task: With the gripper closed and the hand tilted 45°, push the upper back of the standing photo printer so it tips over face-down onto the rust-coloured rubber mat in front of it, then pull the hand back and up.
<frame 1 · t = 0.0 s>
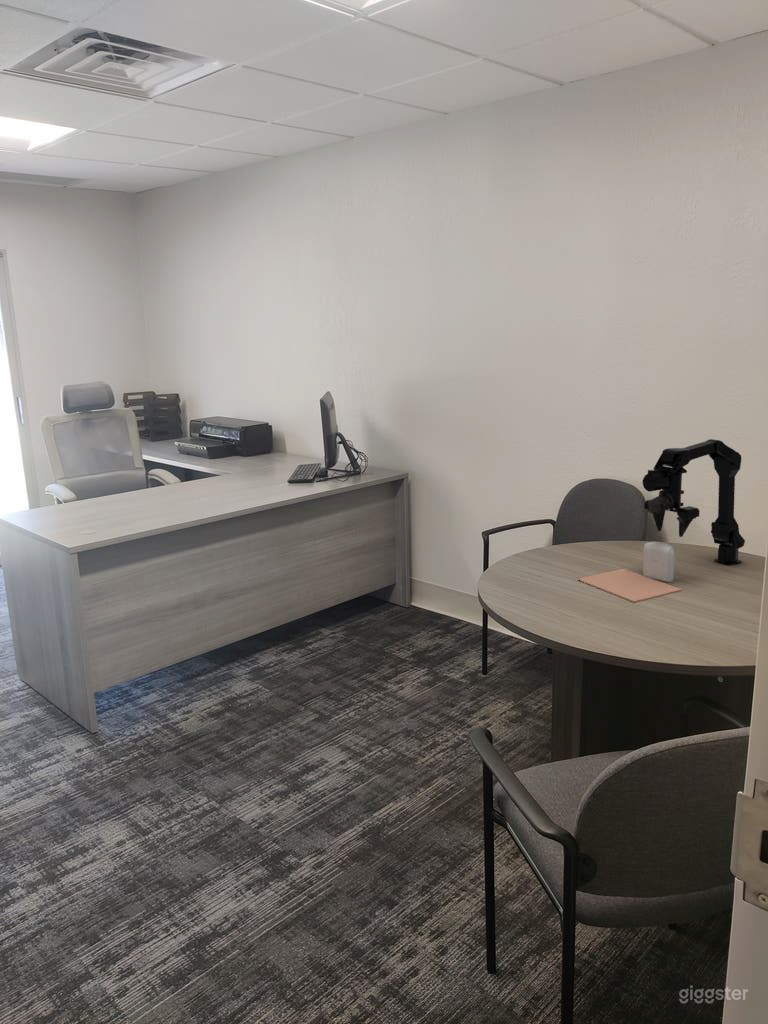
hand: (670, 533, 255), 15 cm above the table, tool pointing down, fingers open, 9 cm apart
photo printer: (657, 579, 256), on the table
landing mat: (628, 585, 251), on the table
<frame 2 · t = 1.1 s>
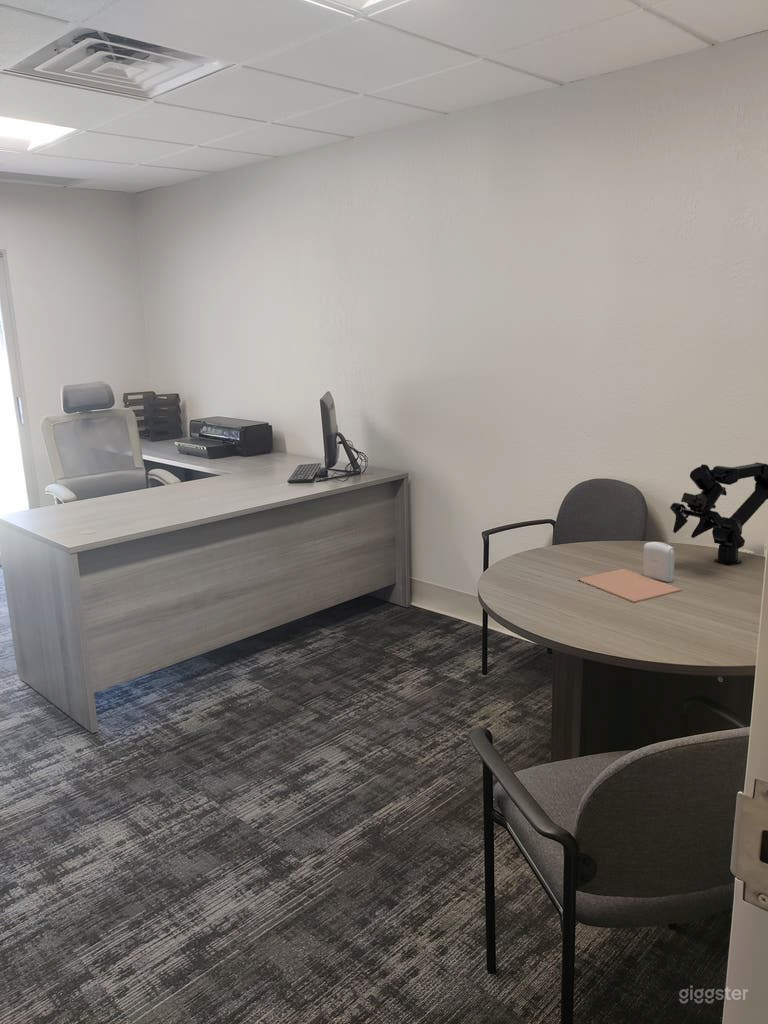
hand: (682, 534, 258), 13 cm above the table, tool tilted 45°, fingers open, 7 cm apart
nothing on the table moved.
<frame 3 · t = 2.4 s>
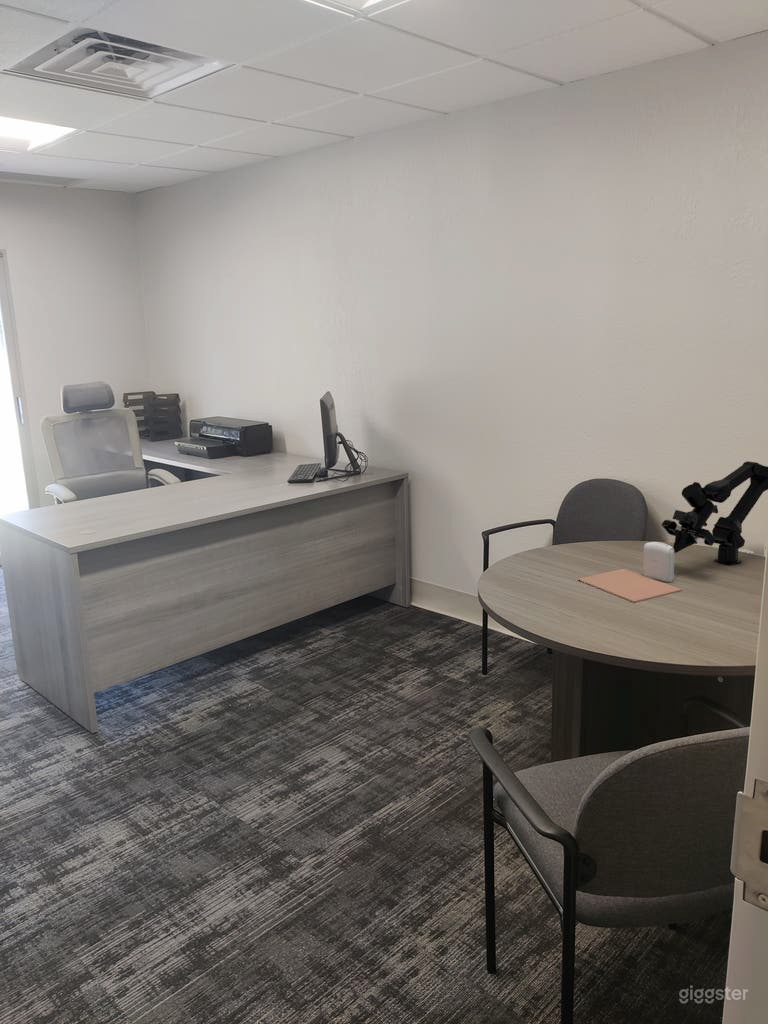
hand: (673, 552, 257), 8 cm above the table, tool tilted 45°, fingers closed
nothing on the table moved.
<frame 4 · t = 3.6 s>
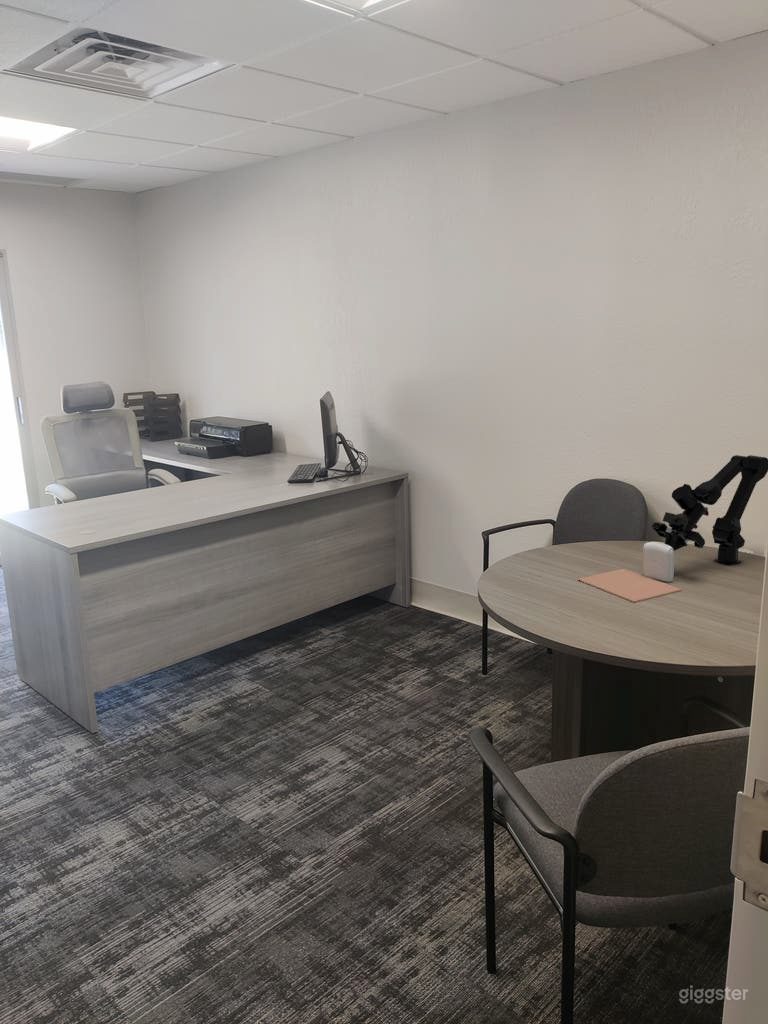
hand: (663, 554, 255), 8 cm above the table, tool tilted 45°, fingers closed
photo printer: (657, 578, 256), on the table, touching gripper
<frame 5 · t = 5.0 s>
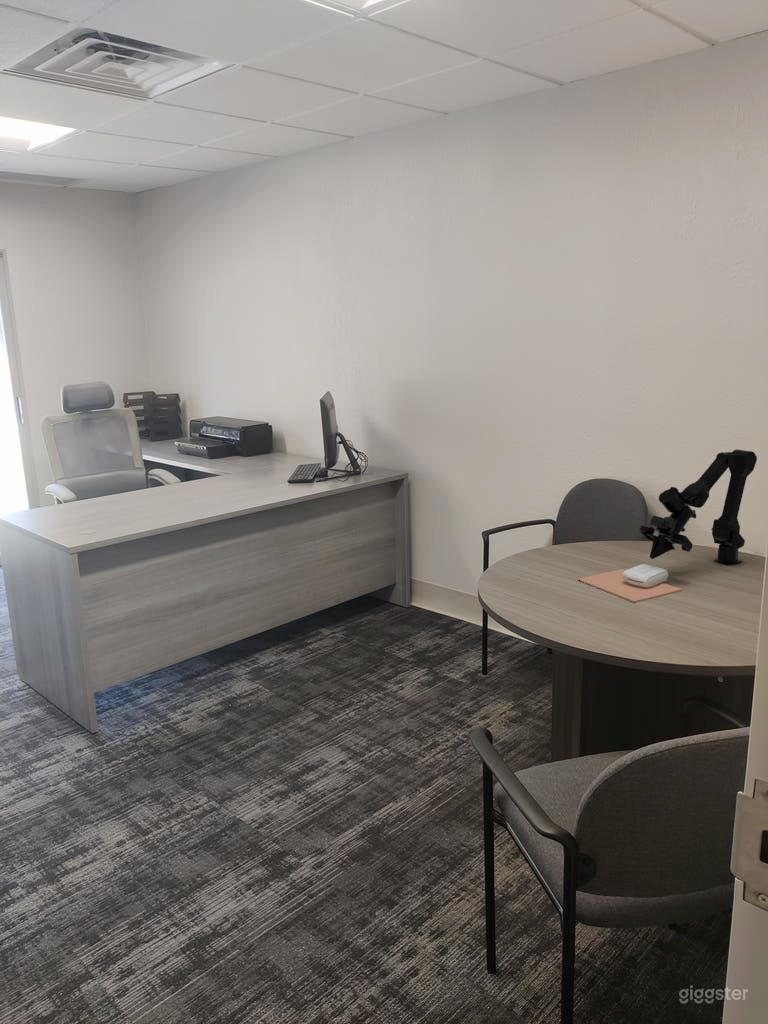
hand: (651, 558, 253), 8 cm above the table, tool tilted 45°, fingers closed
photo printer: (655, 571, 255), point 3 cm above the table, touching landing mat
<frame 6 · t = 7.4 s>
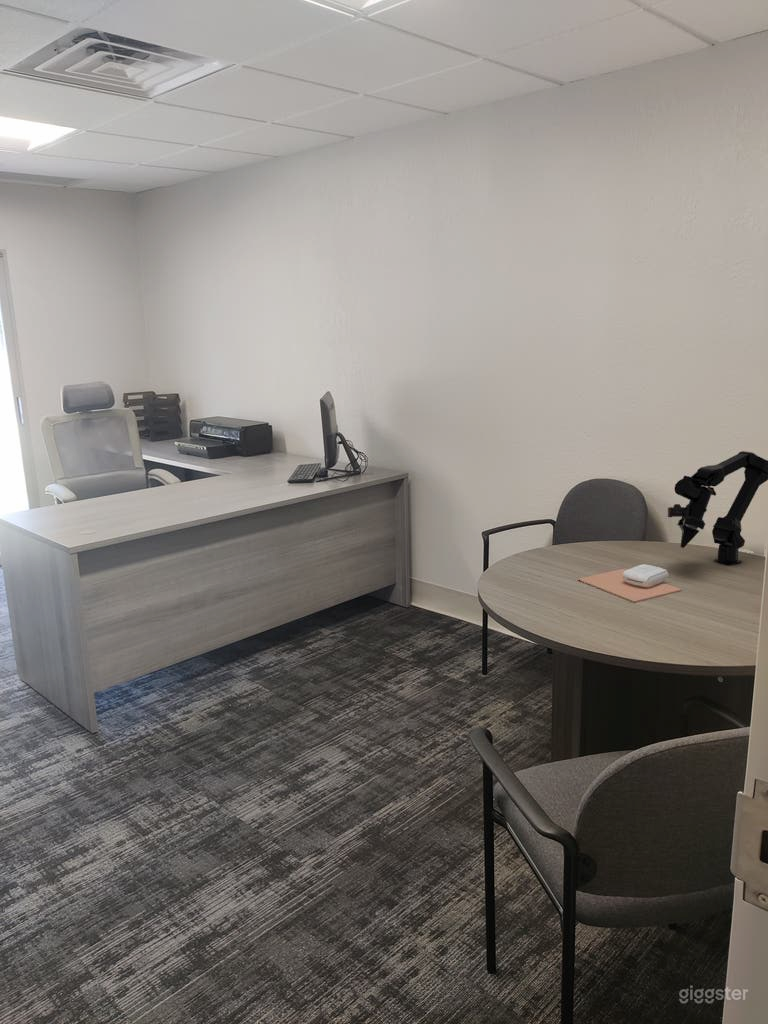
hand: (681, 547, 259), 9 cm above the table, tool tilted 25°, fingers closed
nothing on the table moved.
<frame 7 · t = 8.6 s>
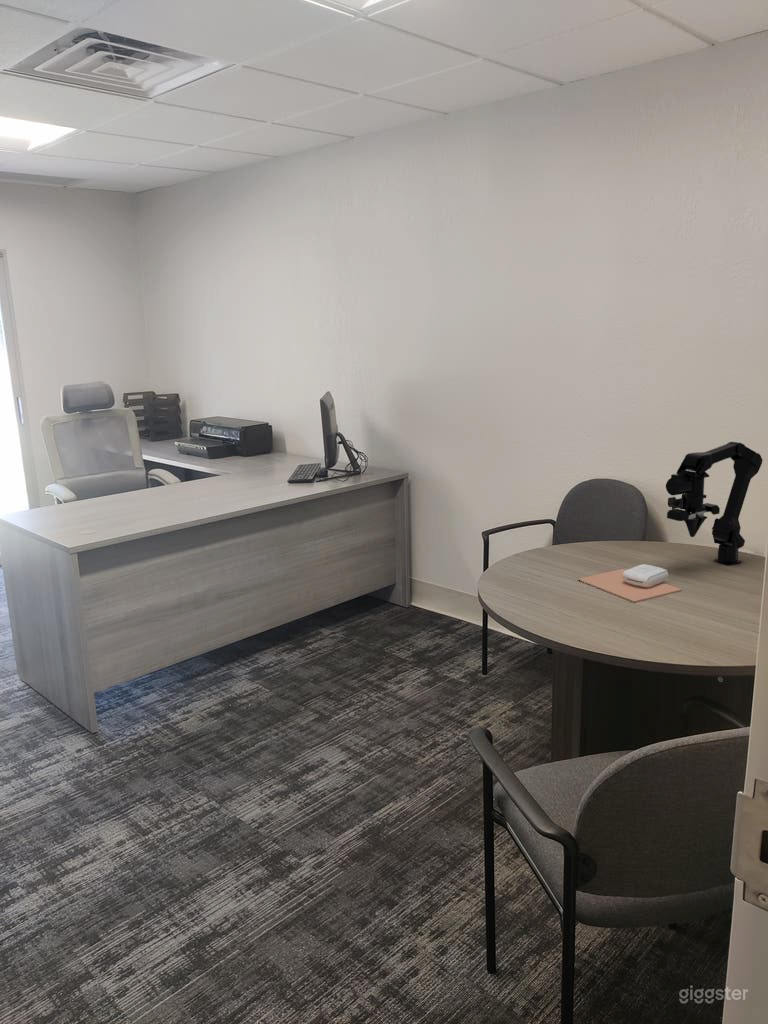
hand: (692, 536, 260), 12 cm above the table, tool pointing down, fingers closed
nothing on the table moved.
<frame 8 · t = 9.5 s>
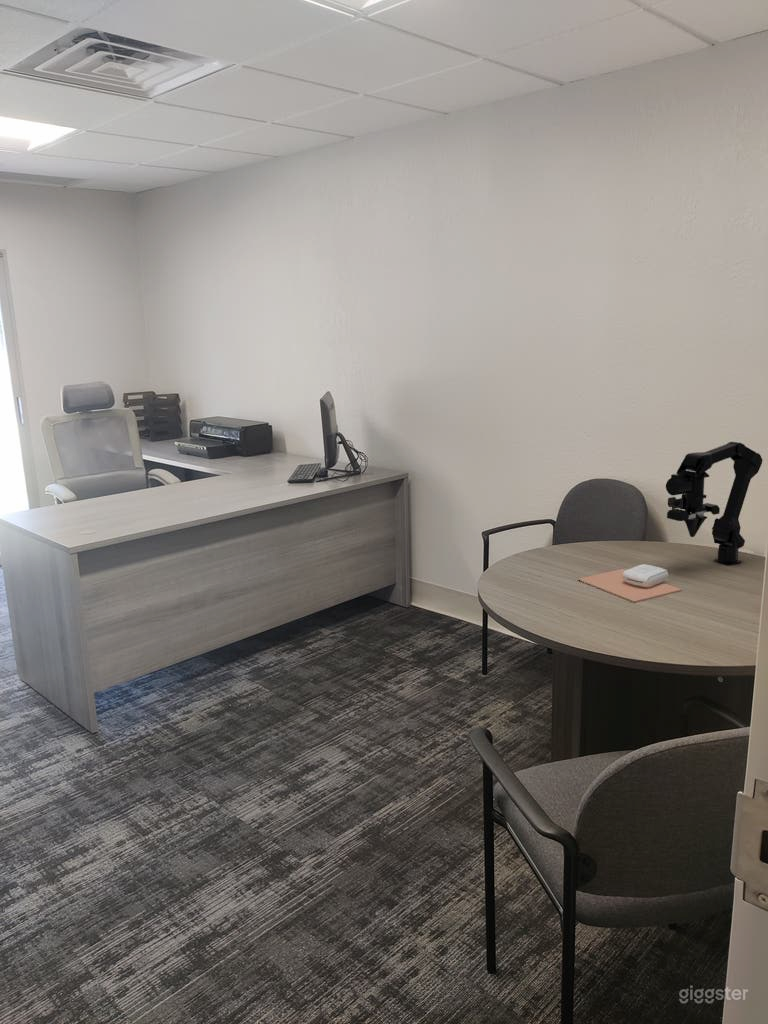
hand: (692, 536, 260), 12 cm above the table, tool pointing down, fingers closed
nothing on the table moved.
at the end: photo printer tilted 91°; photo printer touching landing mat; photo printer inside the target area (2.9 cm from its centre), point 2.7 cm above the table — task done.
